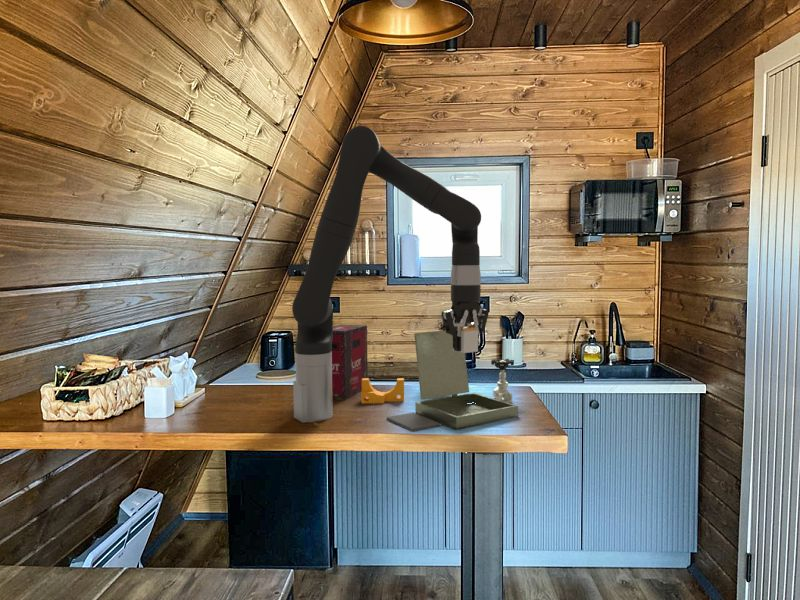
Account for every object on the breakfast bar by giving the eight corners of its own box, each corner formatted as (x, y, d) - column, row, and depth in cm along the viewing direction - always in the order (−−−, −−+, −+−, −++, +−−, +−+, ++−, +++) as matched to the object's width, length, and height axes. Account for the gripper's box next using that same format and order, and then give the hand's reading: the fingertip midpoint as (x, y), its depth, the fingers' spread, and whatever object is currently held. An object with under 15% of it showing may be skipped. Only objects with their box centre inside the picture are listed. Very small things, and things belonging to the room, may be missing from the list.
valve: (495, 406, 153) (495, 362, 152) (487, 400, 159) (487, 358, 159) (518, 405, 154) (518, 362, 153) (509, 399, 160) (509, 358, 160)
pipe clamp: (361, 404, 157) (361, 381, 157) (362, 400, 161) (362, 378, 161) (403, 404, 157) (403, 381, 156) (404, 400, 161) (404, 378, 161)
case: (456, 430, 131) (456, 383, 130) (407, 410, 149) (407, 369, 149) (518, 417, 141) (518, 374, 140) (465, 400, 159) (465, 362, 159)
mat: (412, 431, 130) (412, 428, 130) (386, 419, 140) (386, 417, 140) (440, 425, 134) (440, 423, 134) (413, 414, 144) (413, 412, 144)
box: (342, 386, 180) (341, 324, 178) (367, 388, 177) (367, 325, 176) (318, 397, 164) (316, 330, 163) (345, 400, 161) (344, 331, 160)
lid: (415, 333, 148) (412, 333, 149) (422, 399, 146) (418, 399, 148) (462, 329, 156) (458, 329, 157) (469, 392, 154) (465, 392, 156)
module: (463, 353, 139) (463, 329, 139) (453, 350, 143) (453, 327, 143) (477, 351, 142) (477, 328, 141) (466, 349, 145) (466, 326, 145)
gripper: (452, 284, 134) (451, 354, 135) (496, 283, 142) (496, 349, 143) (434, 283, 141) (434, 350, 142) (478, 282, 148) (477, 346, 149)
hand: (465, 349), depth 142 cm, fingers closed on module, 4 cm apart
